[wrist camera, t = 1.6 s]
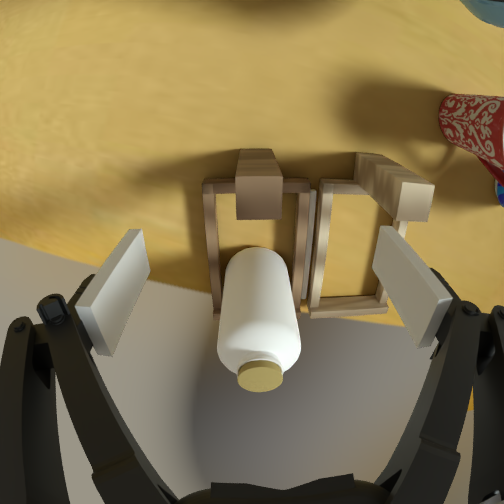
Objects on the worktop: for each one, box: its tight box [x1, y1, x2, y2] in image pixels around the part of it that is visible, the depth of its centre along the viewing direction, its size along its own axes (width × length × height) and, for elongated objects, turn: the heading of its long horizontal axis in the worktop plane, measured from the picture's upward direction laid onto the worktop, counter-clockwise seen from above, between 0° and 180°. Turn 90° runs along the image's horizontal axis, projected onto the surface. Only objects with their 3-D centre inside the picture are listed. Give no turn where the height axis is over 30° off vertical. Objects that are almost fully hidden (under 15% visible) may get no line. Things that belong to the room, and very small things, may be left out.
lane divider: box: [301, 189, 316, 299], centre depth 38 cm, size 16×1×1 cm, turn 1°
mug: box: [439, 94, 504, 187], centre depth 24 cm, size 13×9×14 cm
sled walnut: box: [202, 149, 311, 320], centre depth 32 cm, size 22×12×12 cm, turn 1°
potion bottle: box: [217, 247, 301, 392], centre depth 32 cm, size 8×8×18 cm
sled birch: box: [307, 152, 435, 318], centre depth 32 cm, size 22×12×12 cm, turn 1°
